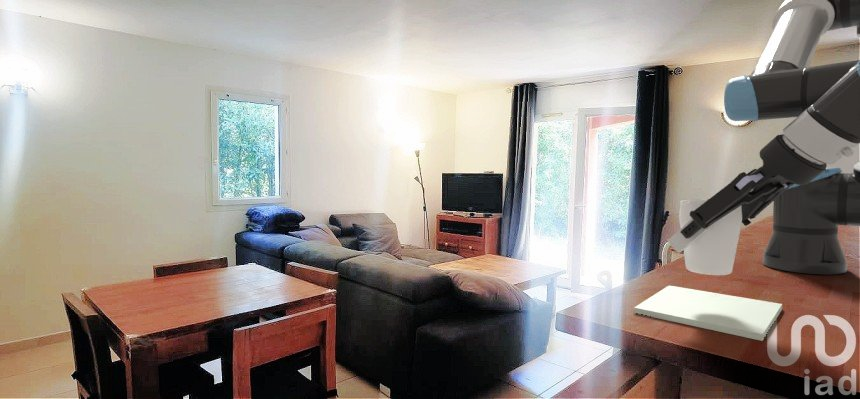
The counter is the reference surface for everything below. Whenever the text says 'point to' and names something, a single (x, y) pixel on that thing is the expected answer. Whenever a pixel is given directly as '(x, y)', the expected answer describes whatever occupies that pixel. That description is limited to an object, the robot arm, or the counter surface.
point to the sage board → (712, 311)
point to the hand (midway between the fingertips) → (690, 243)
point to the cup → (712, 241)
